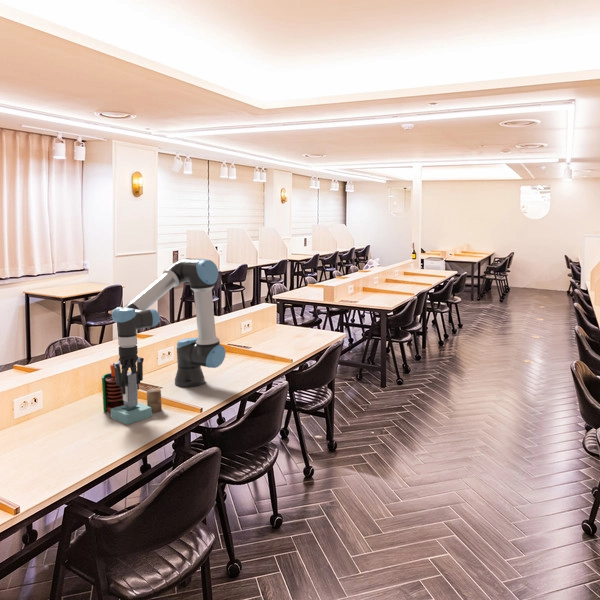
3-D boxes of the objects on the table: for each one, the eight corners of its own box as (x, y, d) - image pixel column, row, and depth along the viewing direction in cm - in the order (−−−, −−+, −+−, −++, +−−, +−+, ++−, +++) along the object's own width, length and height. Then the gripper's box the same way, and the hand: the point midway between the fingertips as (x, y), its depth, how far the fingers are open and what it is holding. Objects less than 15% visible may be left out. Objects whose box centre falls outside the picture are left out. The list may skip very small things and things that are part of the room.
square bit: (132, 403, 230) (130, 371, 228) (137, 405, 227) (136, 373, 225) (124, 405, 227) (122, 373, 225) (129, 407, 224) (127, 375, 222)
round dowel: (156, 407, 240) (155, 387, 239) (164, 410, 236) (163, 390, 235) (144, 411, 235) (143, 391, 234) (153, 414, 232) (152, 394, 230)
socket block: (135, 410, 236) (135, 401, 236) (151, 416, 229) (151, 407, 228) (111, 417, 227) (110, 408, 227) (127, 424, 220) (126, 415, 219)
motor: (106, 414, 231) (104, 369, 228) (100, 408, 238) (98, 365, 235) (130, 409, 237) (127, 366, 234) (123, 404, 244) (121, 361, 241)
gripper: (140, 340, 232) (142, 392, 236) (104, 348, 219) (107, 402, 223) (150, 343, 228) (152, 396, 231) (114, 350, 214) (117, 406, 218)
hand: (130, 399), depth 227 cm, fingers closed on square bit, 4 cm apart
